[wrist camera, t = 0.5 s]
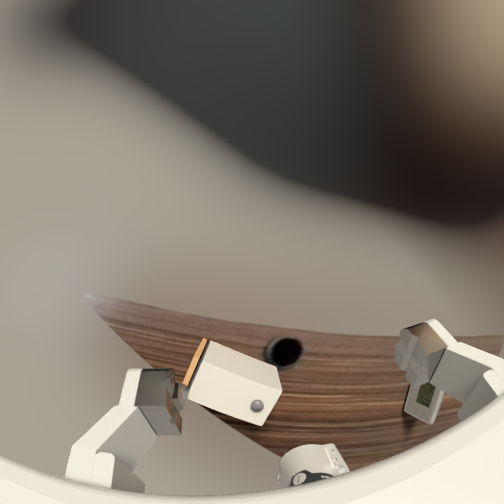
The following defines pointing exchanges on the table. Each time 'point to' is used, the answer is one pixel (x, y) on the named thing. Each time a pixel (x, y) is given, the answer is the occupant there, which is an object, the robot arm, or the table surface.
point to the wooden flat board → (191, 370)
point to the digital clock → (424, 402)
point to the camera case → (235, 384)
